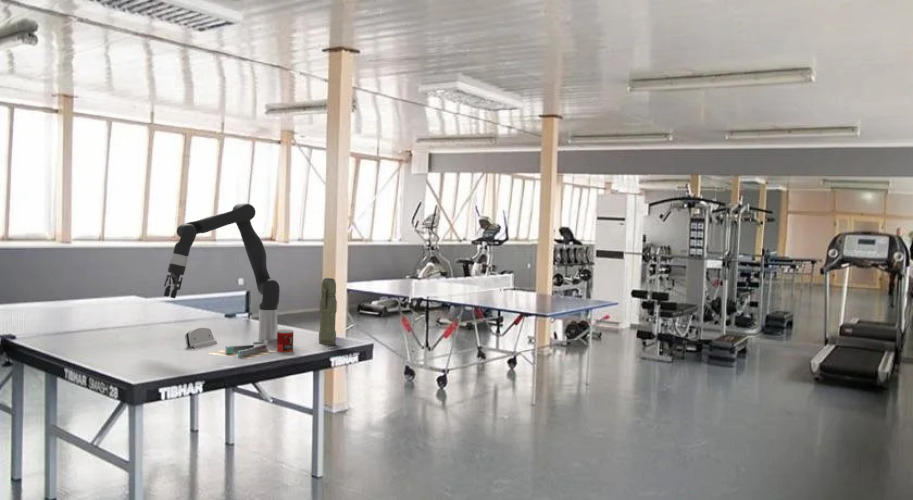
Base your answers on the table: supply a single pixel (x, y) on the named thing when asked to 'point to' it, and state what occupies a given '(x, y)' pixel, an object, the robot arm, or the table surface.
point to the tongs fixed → (253, 350)
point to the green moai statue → (328, 312)
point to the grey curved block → (199, 338)
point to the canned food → (285, 340)
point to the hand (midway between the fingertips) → (169, 297)
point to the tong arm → (239, 348)
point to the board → (222, 353)
